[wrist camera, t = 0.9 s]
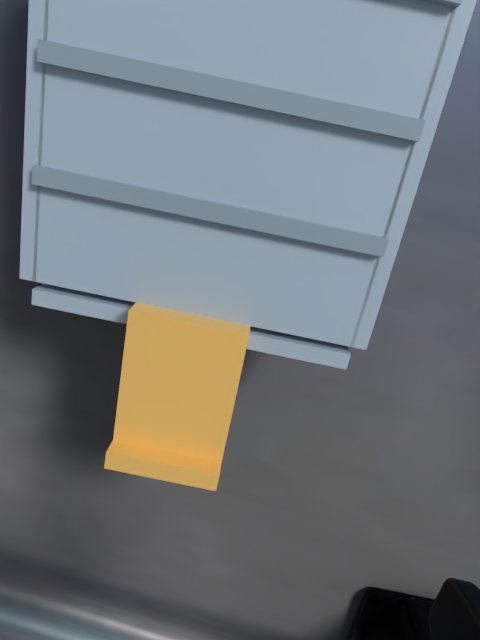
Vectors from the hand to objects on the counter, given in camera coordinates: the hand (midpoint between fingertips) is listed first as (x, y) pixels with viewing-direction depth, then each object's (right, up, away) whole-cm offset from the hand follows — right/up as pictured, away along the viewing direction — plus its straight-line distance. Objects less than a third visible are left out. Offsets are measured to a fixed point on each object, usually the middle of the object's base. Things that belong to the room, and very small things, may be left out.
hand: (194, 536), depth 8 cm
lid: (0, +8, +6) cm, 10 cm away
